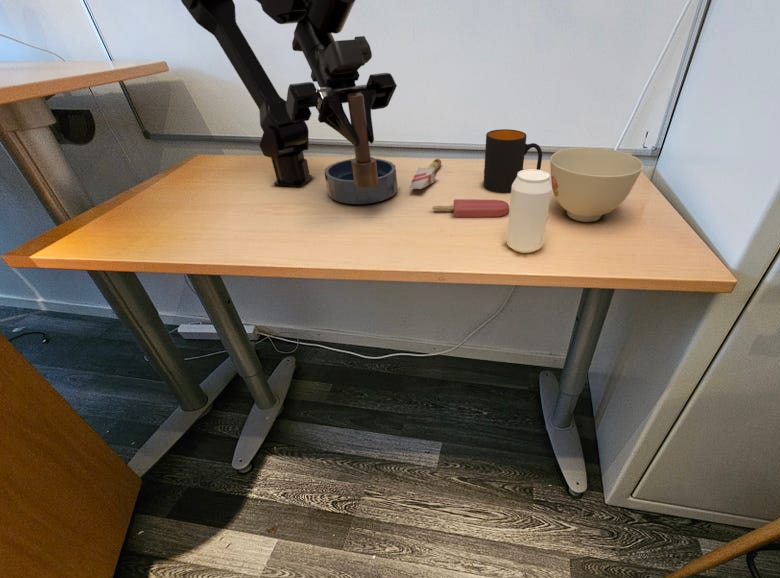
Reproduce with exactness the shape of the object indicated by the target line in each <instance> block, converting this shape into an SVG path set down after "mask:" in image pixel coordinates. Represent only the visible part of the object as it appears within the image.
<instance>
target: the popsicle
mask: <svg viewBox="0 0 780 578" xmlns="http://www.w3.org/2000/svg"><path fill="white" fill-rule="evenodd" d="M509 209H510V203H508V202H507V201H504V200H502V199H479V198H478V199H477V198H476V199H474V198H472V199H471V198H470V199H469V198H467V199H465V198H464V199H463V198H461V199H459V198H456V199H454V200H453V205H434V206H432V210H434V211H453V217H455V218H487V217H488V218H490V217H491V218H494V217H496V218H497V217H504V216H506V215H507V214H509Z"/></svg>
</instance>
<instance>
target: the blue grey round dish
mask: <svg viewBox="0 0 780 578" xmlns="http://www.w3.org/2000/svg"><path fill="white" fill-rule="evenodd" d="M352 159H353V158H350V159H349V158H348V159H344V160H339V161H336V162H334V163H332V164H329V165H328V166H327V167H326V168H325V169H324V172H323V174H324V179H325V183H326V188H327V195H328V196H329V197H330V198H331V199H332V200H334V201H335V202H338V203H342V204H343V203H344V204H349V205H368V204H369V205H370V204H375V203H378V202H381V201H385V200H388V199H390V198H392V197H393V196H395V195H396V194H397V192H398V178H397V177H398V176H397V168H396V165H395V164H394V163H393V162H391V161H389V160H386V159H382V158H375V159H376V165H377V175H378V184H377V185H375V186H373V187H366V188H364V187H358V186H356V185H355V184H354V178H353V171H352V165H351V160H352Z"/></svg>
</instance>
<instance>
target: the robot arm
mask: <svg viewBox="0 0 780 578" xmlns="http://www.w3.org/2000/svg"><path fill="white" fill-rule="evenodd" d="M180 1H181V3H182V5H183V6H184V7H185V9H186V11H188V13H189V14H190V15H191V17H192V18H193V20H194V21H195V22H196V24H198V25H199V26H200V27H202V28H203V29H204V30H206V31H207V32H209V33H210V34H211V35H213V37H214V38H215V39H216V41H217V42H218V44H219V46H220V48H221V49H222V51H223V52H224V54H225V56H226V57H227V59H228V60H229V62H230V65H231V66H232V67H233V69H234V70H235V72H236V74H237V76H238V77H239V79H240V80H241V82H242V84H243V85H244V87H245V88H246V90H247V92H248V94H249V95H250V96H251V98H252V100H253V101H254V103H255V105H256V106H257V108H258V111H259V124H260V128H261V130H262V132H263V134H262V136H261V139H260V142H259V148H260V150H261V152H262V154H263V156H264V157H267V158H270V159H271V163H272V166H273V170H274V174H275V177H276V181H274V183H273V185H274V186H277V187H291V188H292V187H293V188H302V187H303V186H304V185H305V184H307V183H308V182H309V181H310V180H311V179H312V178H313V175H312V174H311V172H310V169H309V164H308V160H307V159H306V158H305V155H304V151H309V127H308V124H307V123H306V122H307V121H309V120H310V119H311V117H312V111H311V109H310V108H315V109H316V111H317V112H318V117H317V120H318V122H319V123H321V124H322V123H324V124H326V125H327V126H328V127H330V128H331V129H333V130H334V131H336V132H337V133H338V134H340V135H341V136H342V137H344V138H345V139H346V140H347V141H348V142H350V144H352V145H353V147H354V146H358V145H359V141H358V139H357V136H356V133H355V131H354V129H353V128H352V126H351V121H350V119H349V118H348V115H347V113H346V112H345V110H344V106H343V104H348V98H347V95H348V94H351V93H361V94H363V96H364V105H365V114H366V122H367V131H368V140H369V144H373V143H374V141H375V137H374V128H373V120H372V111H374V110H380V109H385V108H387V107H389V104H390V102H391V100H392V98H393V95H394V93H395V91H396V89H397V86H398V85H397V83H396V80H395V78H394V76H393V75H392V73H390V72H380V73H373V74H369V76H368V79H367V82H366V84H360V85H359V84H358V85H357V84H356V82H357V81H359V79H360V73H359V69H360V68H361V67H364V66H365V65H366V64H367V63H369V62H370V60H371V59H372V58H373V53H372V49H371V46H370V43H369V42H368V40H367V38H366V36H365V35H361V36H360V35H359V36H355V37H354V39H343V40H336V39H335V38H334V36H333V34H339V33H341V32H342V31H343V29H344V26H345V25H346V22H347V20H348V18H349V15H350V13H351V11H352V9H353V7H354V6H355V3H356V0H255V1H256V2H257V3H258V4H260V6H261V9H262V11H263V13H264V14H266V15H267V16H268V17H269V18H271V20H273V21H274V22H275V23H277V24H278V25H290V24H296V26H295V29H294V31H293V39H292V42H291V47H292V50H293V51H294V52H302V53H303V56H304V58H305V59H306V62H307V64H308V66H309V68H310V70H311V72H310V78H311V80H312V82H311V81H306V82H299V83H298V82H297V83H290V84H289V85H288V87H287V94H286V100H285V99H284V98H282V96H280V94H279V92H278V91H277V90H276V88H275V86H274V84H273V82H272V81H271V79H270V77H269V76H268V74H267V72H266V71H265V69H264V67H263V66H262V64H261V62H260V61H259V59H258V57H257V55H256V54H255V52H254V50H253V49H252V47H251V46H250V44H249V42H248V40H247V38H246V37H245V35H244V34H243V32H242V30H241V28H240V27H239V25H238V23H237V15H236V4H235V3H234V0H180ZM315 83H317V85H318V87H316V85H315Z"/></svg>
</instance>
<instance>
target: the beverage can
mask: <svg viewBox="0 0 780 578" xmlns="http://www.w3.org/2000/svg"><path fill="white" fill-rule="evenodd" d="M552 193H553V189H552V183H551V174H550V173H549V172H547V171H545V170H542V169H540V170H537V168H528V169H523V170H522V171H519V172H518V173H517V177H516V179H515V181H514V182H513V184H512V189H511V192H510V199H509V200H510V201H509V211H508V223H507V231H506V244H507V246H508V247H509V248H511V249H512V250H513V251H515V252H517V253H520V254H531V253H534V252H536V251H538V250H540V249H541V248H542V247H543V245H544V241H545V234H546V229H547V223H548V218H549V217H548V216H549V212H550V211H549V210H550V206H551V205H550V204H551V199H552Z"/></svg>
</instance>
